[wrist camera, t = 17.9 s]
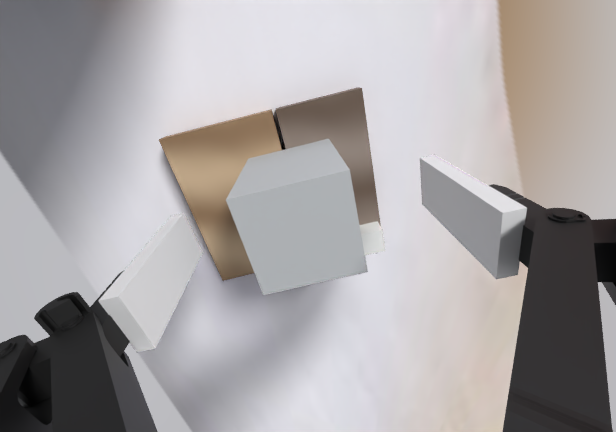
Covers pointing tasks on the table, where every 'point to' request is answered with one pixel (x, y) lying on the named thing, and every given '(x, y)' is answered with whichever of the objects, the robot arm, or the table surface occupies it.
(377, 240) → the spacer wedges
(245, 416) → the table surface
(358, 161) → the laminate strip
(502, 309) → the table surface
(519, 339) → the robot arm
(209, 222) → the board
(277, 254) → the block
